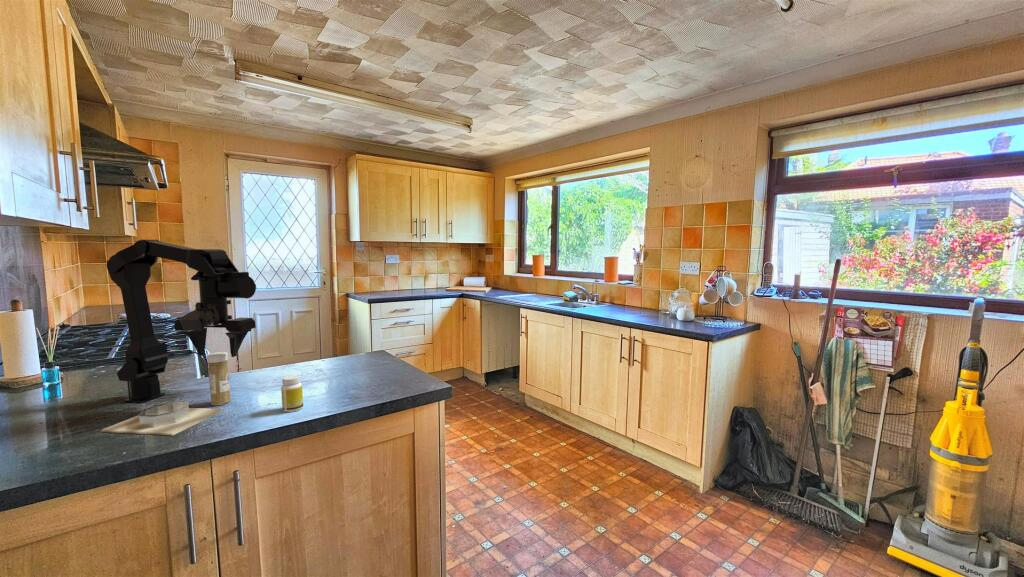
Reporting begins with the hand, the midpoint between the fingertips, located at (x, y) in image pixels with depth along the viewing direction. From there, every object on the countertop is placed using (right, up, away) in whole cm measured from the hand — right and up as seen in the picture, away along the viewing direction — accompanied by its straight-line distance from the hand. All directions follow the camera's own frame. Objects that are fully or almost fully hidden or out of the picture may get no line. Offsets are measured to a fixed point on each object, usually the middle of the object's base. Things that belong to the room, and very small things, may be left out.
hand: (217, 356), depth 111 cm
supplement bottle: (+22, -13, -3) cm, 26 cm away
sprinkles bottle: (0, -13, +1) cm, 13 cm away
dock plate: (-5, -14, -10) cm, 18 cm away
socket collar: (-5, -14, -10) cm, 18 cm away
